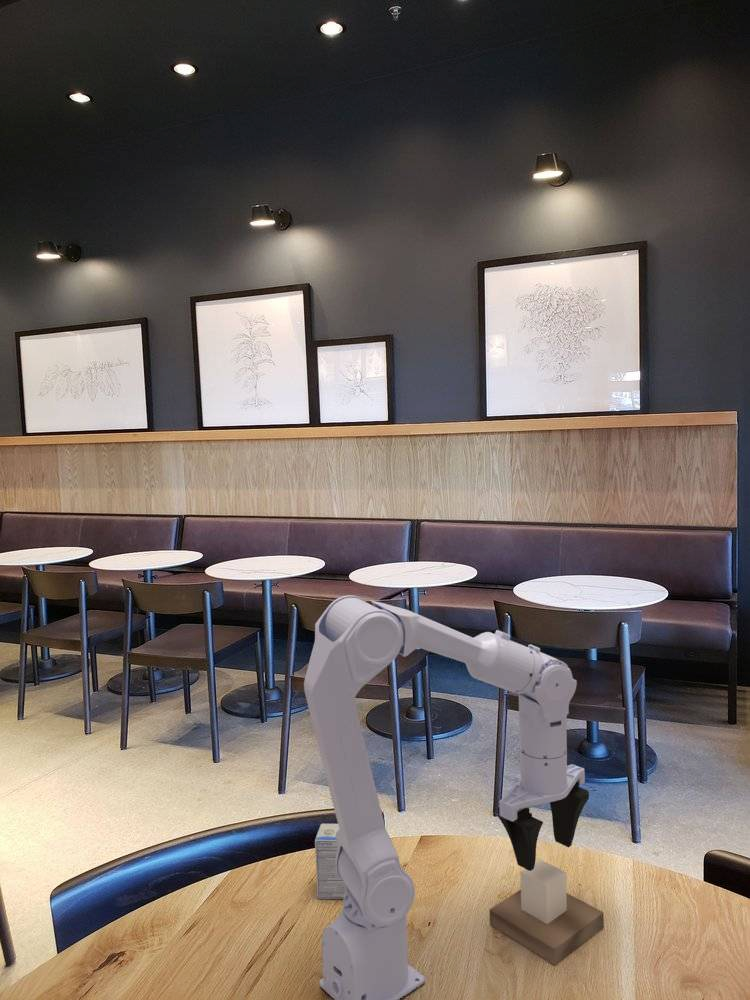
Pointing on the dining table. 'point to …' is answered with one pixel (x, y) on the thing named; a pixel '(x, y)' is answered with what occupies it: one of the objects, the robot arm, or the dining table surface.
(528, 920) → the walnut plinth
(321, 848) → the medicine box
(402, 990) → the robot arm
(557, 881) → the off-white block
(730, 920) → the dining table surface
